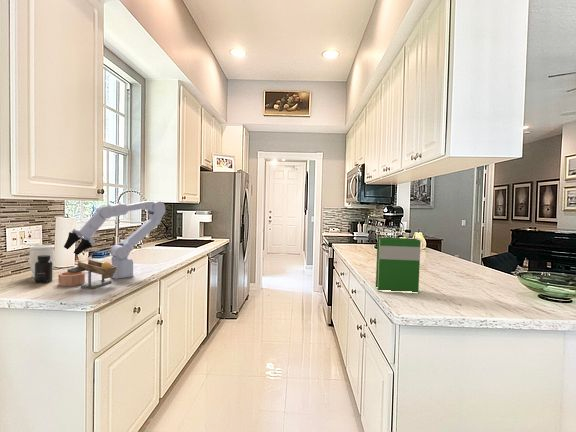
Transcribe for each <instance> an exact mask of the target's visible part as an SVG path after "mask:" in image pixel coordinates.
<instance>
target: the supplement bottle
mask: <svg viewBox="0 0 576 432" xmlns="http://www.w3.org/2000/svg"><path fill="white" fill-rule="evenodd" d="M37 260H38V261H37V262H36V263H35V278H34V283H36V284H46V283H51V282H53V274H54V273H53V272H54V270H53V269H54V267H53V263H52V262H51V261H50V255H39V256H38V259H37Z"/></svg>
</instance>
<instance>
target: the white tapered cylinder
mask: <svg viewBox="0 0 576 432" xmlns="http://www.w3.org/2000/svg"><path fill="white" fill-rule="evenodd" d="M55 247H56V246H55V245H54V244H34V245H33V244H32V245H29V249H30V251H29V254H28V262H29V267H30V268H29V269H30V270H31V273H32V274H31V277H32V278H35V263H36V262H37V261H38V260H37V259H38V256H39V255H50V261H51V262H52V263H53V268H54V266H55V260H56V254H55V249H54V248H55Z"/></svg>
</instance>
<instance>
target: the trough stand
mask: <svg viewBox="0 0 576 432" xmlns="http://www.w3.org/2000/svg"><path fill="white" fill-rule="evenodd" d="M102 277H103V275H101V279H98V280H95V281H92V272H91V270H88V271H87V280H88V281H87V282H88V283H86V284H85V283H84V284H80V289H89V290H90V289H91V290H93V289H94V290H95V289H97V288H100V287H102V286H106V285H108V284H112V280H109V279H104V278H102Z"/></svg>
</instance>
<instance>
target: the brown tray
mask: <svg viewBox="0 0 576 432" xmlns="http://www.w3.org/2000/svg"><path fill="white" fill-rule="evenodd" d="M87 262H88V263H85V262H81V261H78V262H77V267H73V268H69V269H67V271H66V272H70V273H73V274H74V273H78V272H81V271H82V272H84V271H87V272H88V270H91V273H93V274H98V275H101V279H102V278H104V280H107V279H109V278H111V277H113V274H114V273H115V271H116V266H113V265H112V264H111V268H107V269H104V268H101V266H102V264H103V263H104V262H101V261H98V260H94V259H88V261H87ZM102 275H103V277H102Z"/></svg>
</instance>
